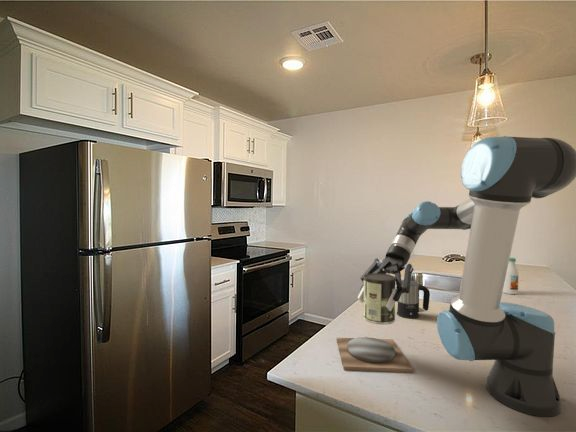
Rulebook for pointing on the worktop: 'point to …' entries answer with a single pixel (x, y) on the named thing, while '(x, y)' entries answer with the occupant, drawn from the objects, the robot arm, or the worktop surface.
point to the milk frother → (412, 301)
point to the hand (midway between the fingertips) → (373, 304)
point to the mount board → (370, 366)
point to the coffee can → (378, 298)
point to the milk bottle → (511, 278)
